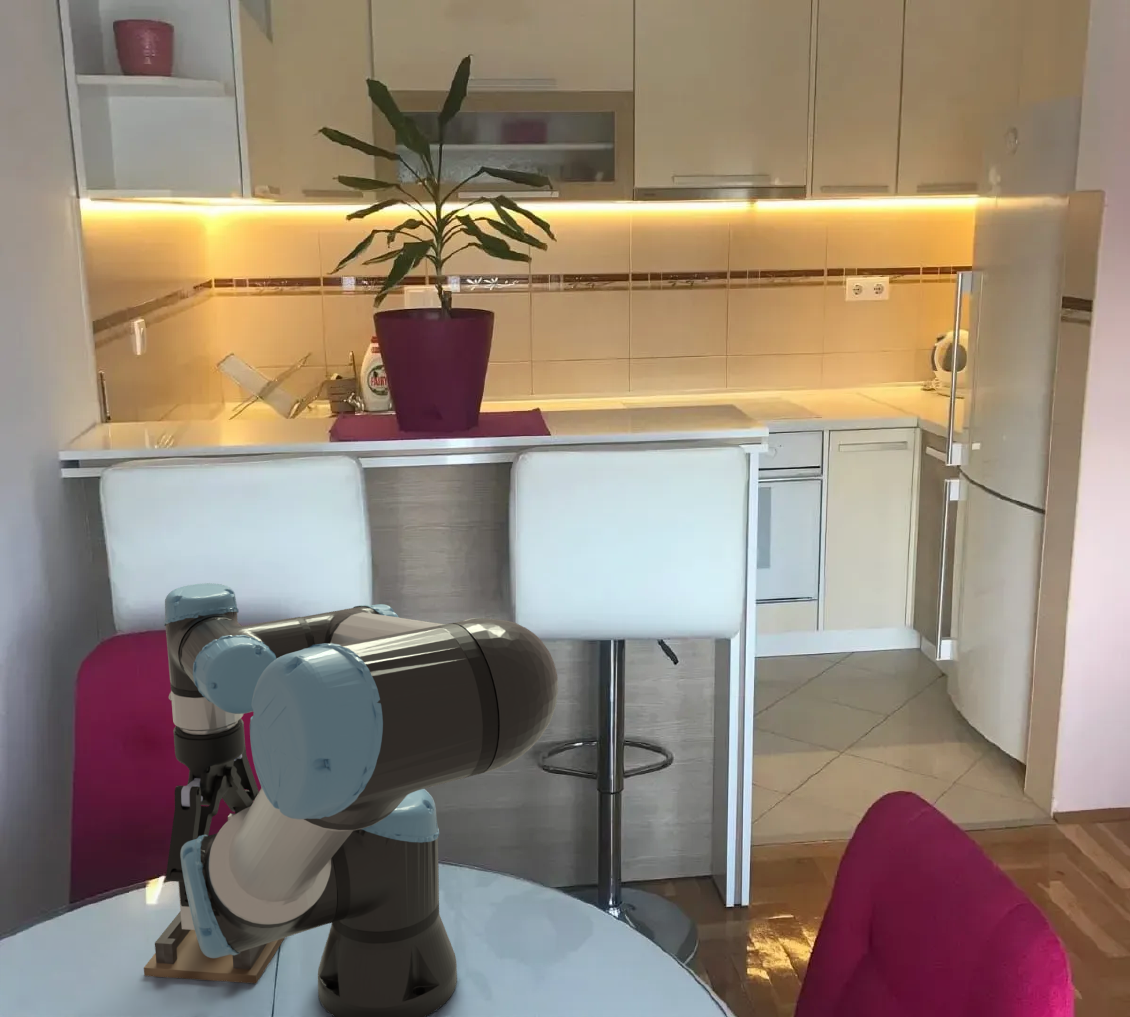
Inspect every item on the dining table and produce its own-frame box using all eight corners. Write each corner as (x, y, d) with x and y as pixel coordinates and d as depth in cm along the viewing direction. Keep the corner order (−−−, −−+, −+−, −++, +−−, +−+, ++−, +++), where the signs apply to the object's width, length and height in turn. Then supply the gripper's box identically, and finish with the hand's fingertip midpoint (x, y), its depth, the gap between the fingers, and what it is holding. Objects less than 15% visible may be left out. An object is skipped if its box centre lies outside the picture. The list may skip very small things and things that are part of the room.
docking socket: (296, 918, 137) (295, 892, 136) (256, 983, 124) (254, 955, 123) (194, 911, 138) (192, 885, 137) (144, 975, 125) (141, 947, 125)
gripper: (221, 681, 138) (231, 840, 142) (121, 767, 114) (137, 956, 118) (280, 683, 137) (289, 843, 141) (192, 771, 113) (206, 960, 117)
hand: (220, 895), depth 130 cm, fingers open, 13 cm apart
